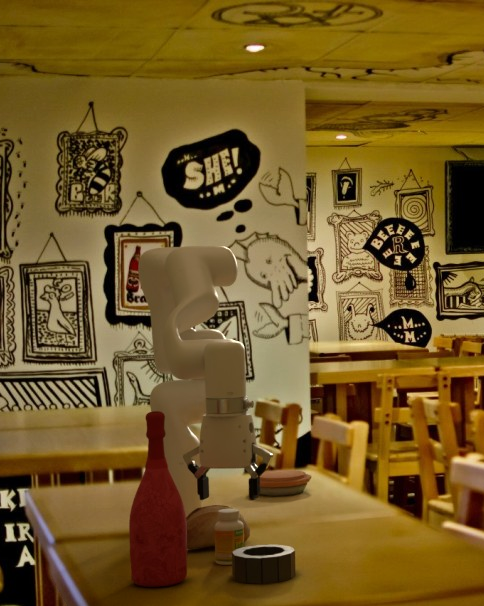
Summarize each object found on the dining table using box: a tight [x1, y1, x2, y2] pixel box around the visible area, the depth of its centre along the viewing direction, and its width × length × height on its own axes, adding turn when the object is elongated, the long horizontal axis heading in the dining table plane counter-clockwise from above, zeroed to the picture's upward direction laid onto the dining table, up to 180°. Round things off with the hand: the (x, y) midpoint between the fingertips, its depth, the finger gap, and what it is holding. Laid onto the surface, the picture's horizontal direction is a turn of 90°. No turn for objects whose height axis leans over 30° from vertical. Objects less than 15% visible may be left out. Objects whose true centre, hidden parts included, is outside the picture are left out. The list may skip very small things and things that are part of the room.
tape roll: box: [231, 544, 296, 585], centre depth 220 cm, size 11×11×4 cm
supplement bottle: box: [214, 508, 245, 566], centre depth 232 cm, size 5×5×10 cm
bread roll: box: [186, 504, 251, 550], centre depth 246 cm, size 10×15×8 cm, turn 130°
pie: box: [248, 469, 312, 497], centre depth 308 cm, size 16×16×5 cm
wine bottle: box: [128, 411, 188, 588], centre depth 217 cm, size 10×10×30 cm
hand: (229, 498), depth 231 cm, fingers open, 9 cm apart
